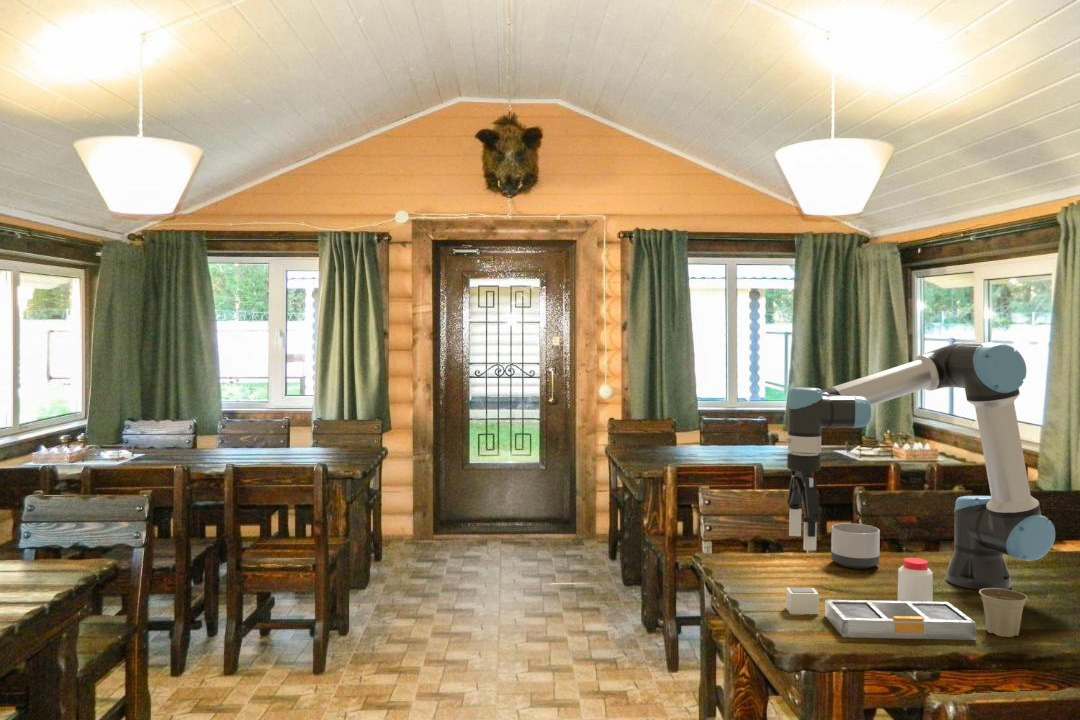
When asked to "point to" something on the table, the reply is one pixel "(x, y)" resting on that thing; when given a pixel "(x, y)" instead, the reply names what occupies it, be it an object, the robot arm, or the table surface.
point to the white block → (802, 601)
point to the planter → (855, 545)
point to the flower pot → (1003, 610)
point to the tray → (899, 619)
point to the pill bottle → (915, 581)
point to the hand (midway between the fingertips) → (802, 542)
